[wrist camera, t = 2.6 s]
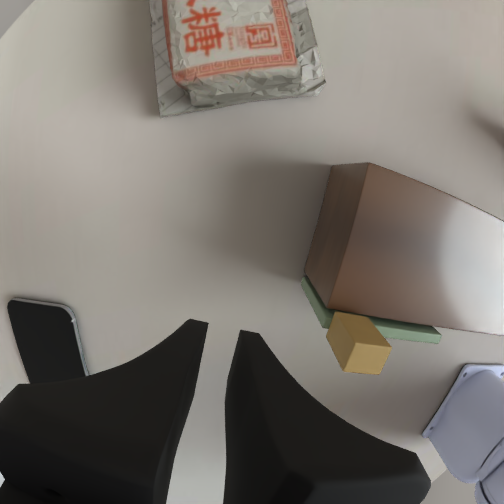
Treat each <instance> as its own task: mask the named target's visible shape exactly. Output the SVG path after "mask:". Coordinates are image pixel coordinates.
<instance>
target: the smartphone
mask: <svg viewBox="0 0 504 504" xmlns="http://www.w3.org/2000/svg"><path fill="white" fill-rule="evenodd" d="M7 309H8V314H9V318H10V321H11V325H12V329H13V333H14V336H15V340H16V343H17V346H18V349H19V353H20V356H21V359H22V362H23V365H24V367H25V370H26V373H27V376H28V379H29V381H30V384H33V383H48V382H58V381H65V380H70V379H76V378H81V377H85V376H89V375H88V371H87V367H86V364H85V360H84V356H83V351H82V347H81V343H80V338H79V334H78V329H77V324H76V319H75V316H74V314H73V312H72V311H71V309H70V308H68V307H67V306H65V305H62V304H55V303H47V302H40V301H33V300H27V299H20V298H13V299H12V300H10V301H9V303H8V306H7Z"/></svg>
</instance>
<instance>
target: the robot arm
mask: <svg viewBox="0 0 504 504" xmlns="http://www.w3.org/2000/svg"><path fill="white" fill-rule="evenodd" d="M208 324H209V323H207V322H202V321H198V320H194V319H189V320H187V321H186V322H185V323H184V324H183V325H182V326H181V327H179V328H178V329H177V330H176V331H175V332H174V333H172V334H171V335H170V336H169V337H167V338H166V339H165V340H163V341H162V342H161V343H159V344H158V345H156V346H155V347H153V348H152V349H150V350H148V351H147V352H145V353H144V354H142V355H140V356H138V357H137V358H135V359H133V360H131V361H129V362H127V363H125V364H122V365H120V366H117V367H114V368H111V369H108V370H105V371H102V372H99V373H96V374H93V375H89V376H85V377H81V378H76V379H70V380H65V381H58V382H48V383H33V384H18V385H17V386H16V387H15V388H14V389H13V390H12V391H11V392H10V393H9V394H8V395H7V396H6V397H5V398H4V399H3V400H2V402H1V403H0V472H1V474H2V475H3V477H4V478H5V481H4V482H3V484H2V486H1V487H0V504H166V500H167V495H168V489H169V484H170V479H171V473H172V468H173V463H174V458H175V454H176V450H177V447H178V444H179V440H180V437H181V434H182V431H183V428H184V425H185V422H186V419H187V416H188V413H189V410H190V407H191V404H192V400H193V397H194V393H195V388H196V383H197V378H198V373H199V368H200V363H201V358H202V353H203V348H204V343H205V338H206V333H207V328H208ZM503 375H504V365H480V364H467V365H465V366H464V367H463V369H462V370H461V372H460V374H459V376H458V378H457V380H456V381H455V383H454V385H453V387H452V388H451V390H450V392H449V393H448V395H447V397H446V398H445V400H444V402H443V403H442V405H441V406H440V408H439V410H438V411H437V413H436V414H435V416H434V417H433V419H432V420H431V422H430V423H429V425H428V426H427V428H426V429H425V430H424V432H423V433H422V436H423V438H428V437H429V439H430V440H431V442H432V444H433V445H434V447H435V448H436V450H437V452H438V453H439V455H440V457H441V458H442V460H443V462H444V463H445V465H446V467H447V468H448V470H449V471H450V473H451V474H452V475H453V476H454V477H456V478H457V479H458V480H460V481H462V482H465V483H476V486H475V499H476V502H477V504H504V381H503V380H502V379H501V378H502V376H503ZM225 431H226V476H225V489H224V500H223V504H420V503H421V502H422V501H423V499H424V498H425V497H426V495H427V493H428V491H429V489H430V486H431V480H430V478H429V477H428V475H427V473H426V471H425V469H424V467H423V465H422V463H421V462H420V460H419V458H418V456H417V454H416V453H414V452H411V451H409V450H406V449H403V448H400V447H398V446H395V445H392V444H390V443H387V442H385V441H382V440H380V439H378V438H376V437H374V436H372V435H370V434H368V433H366V432H364V431H362V430H360V429H358V428H356V427H355V426H353V425H351V424H349V423H348V422H346V421H345V420H343V419H342V418H340V417H339V416H337V415H336V414H334V413H333V412H331V411H330V410H329V409H327V408H326V407H325V406H323V405H322V404H321V403H320V402H318V401H317V400H316V399H315V398H314V397H313V396H311V395H310V394H309V393H308V392H307V391H306V390H305V389H304V388H303V387H302V386H301V385H300V384H299V383H298V382H297V381H296V380H295V379H294V378H293V377H292V376H291V375H290V374H289V372H288V371H287V370H286V369H285V368H284V367H283V365H282V364H281V363H280V362H279V360H278V359H277V358H276V356H275V355H274V354H273V352H272V351H271V350H270V348H269V347H268V345H267V344H266V342H265V341H264V340H263V338H262V337H261V335H260V334H259V333H255V332H250V331H245V330H240V333H239V337H238V341H237V345H236V348H235V352H234V356H233V360H232V364H231V368H230V371H229V375H228V379H227V388H226V397H225Z"/></svg>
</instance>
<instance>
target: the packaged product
mask: <svg viewBox="0 0 504 504" xmlns="http://www.w3.org/2000/svg"><path fill="white" fill-rule="evenodd" d="M149 6H150V13H151V17H152V22H151V31H152V46H153V53H154V65H155V76H156V85H157V94H158V104H159V110H160V117H161V118H163V117H168V116H173V115H178V114H184V113H189V112H195V111H201V110H207V109H214V108H220V107H225V106H230V105H235V104H240V103H246V102H252V101H261V100H270V99H280V98H293V97H307V96H317V95H318V94H319V93H320V91H321V90H322V88H323V87H324V85H325V84H326V81H325V77H324V74H323V70H322V64H321V60H320V56H319V51H318V46H317V43H316V39H315V35H314V31H313V27H312V22H311V19H310V16H309V11H308V8H307V4H306V0H149Z"/></svg>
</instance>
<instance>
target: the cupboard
mask: <svg viewBox="0 0 504 504" xmlns="http://www.w3.org/2000/svg"><path fill="white" fill-rule="evenodd" d="M304 271H305V273H306V275H307V276H308V278H309V279H310V281H311V283H312V284H313V286H314V288H315V289H316V291H317V293H318V294H319V296H320V298H321V299H322V301H323V302H324V304H325V306H326V307H327V308H329V309H335V310H340V311H345V312H351V313H357V314H362V315H368V316H374V317H379V318H385V319H391V320H397V321H403V322H410V323H416V324H422V325H429V326H435V327H442V328H449V329H456V330H463V331H471V332H478V333H486V334H494V335H502V336H504V221H502V220H501V219H499V218H497V217H495V216H493V215H491V214H489V213H487V212H485V211H483V210H481V209H479V208H477V207H475V206H473V205H471V204H469V203H467V202H465V201H462V200H460V199H458V198H456V197H454V196H452V195H449V194H447V193H445V192H443V191H440V190H438V189H436V188H434V187H431V186H429V185H426V184H424V183H422V182H419V181H417V180H414V179H412V178H409V177H407V176H404V175H402V174H399V173H397V172H394V171H391V170H389V169H386V168H383V167H381V166H378V165H375V164H372V163H354V164H341V165H332V168H331V172H330V176H329V180H328V184H327V188H326V192H325V196H324V200H323V203H322V207H321V211H320V215H319V218H318V222H317V226H316V229H315V233H314V237H313V240H312V244H311V247H310V251H309V254H308V258H307V261H306V265H305V268H304Z"/></svg>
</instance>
